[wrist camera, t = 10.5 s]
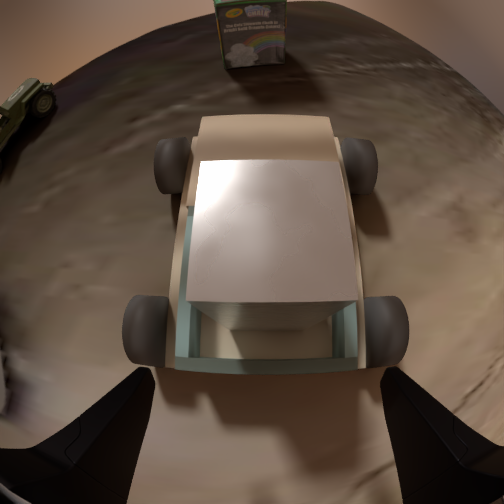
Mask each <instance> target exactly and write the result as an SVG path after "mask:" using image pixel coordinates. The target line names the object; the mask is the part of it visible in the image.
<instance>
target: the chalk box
mask: <svg viewBox="0 0 504 504" xmlns="http://www.w3.org/2000/svg"><path fill="white" fill-rule="evenodd" d="M213 1H214V7H215V13H216V19H217V25H218V32H219V38H220V45H221V53H222V58H223V64H224V68H225V69H229V68H237V67H246V66H258V65H274V64H284V63H285V39H286V6H287V0H213Z"/></svg>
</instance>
